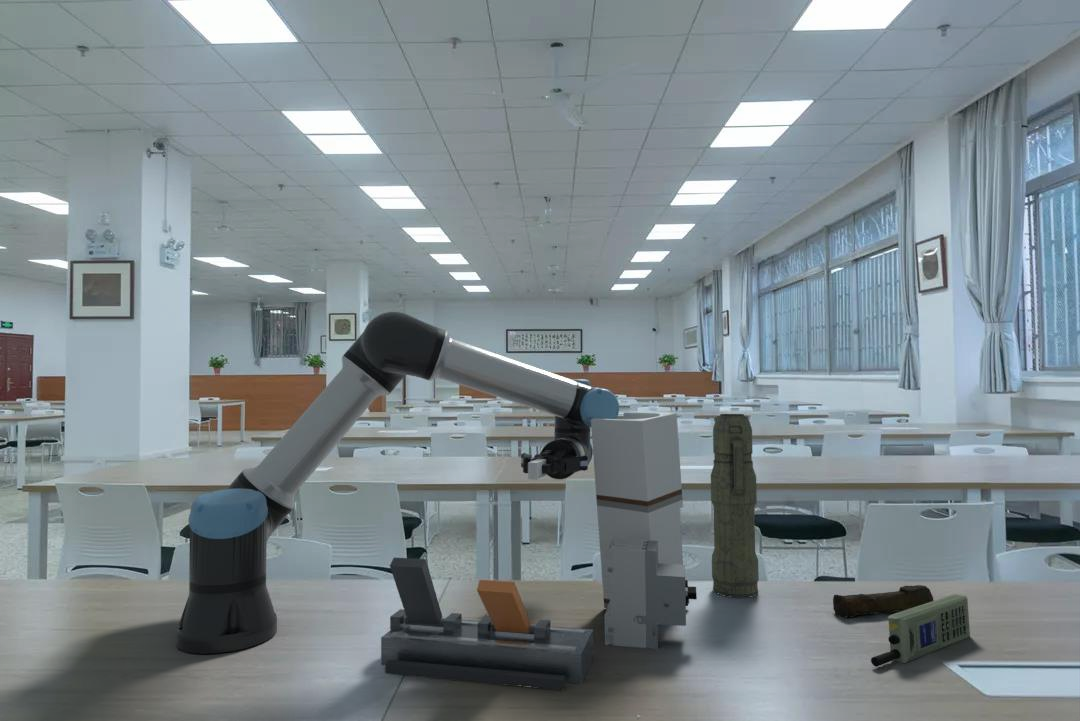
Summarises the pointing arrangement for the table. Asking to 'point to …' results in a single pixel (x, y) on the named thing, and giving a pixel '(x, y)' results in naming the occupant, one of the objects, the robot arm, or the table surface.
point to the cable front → (475, 674)
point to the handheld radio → (926, 629)
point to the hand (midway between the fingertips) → (532, 471)
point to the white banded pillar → (638, 483)
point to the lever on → (416, 592)
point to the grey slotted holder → (490, 646)
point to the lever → (504, 607)
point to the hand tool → (882, 601)
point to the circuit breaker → (642, 593)
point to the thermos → (734, 508)
